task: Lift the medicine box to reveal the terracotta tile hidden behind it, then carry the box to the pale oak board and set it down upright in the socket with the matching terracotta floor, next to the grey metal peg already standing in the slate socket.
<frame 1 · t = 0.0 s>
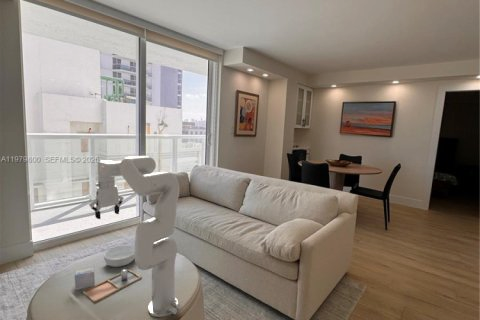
hand: (107, 215, 131), 31 cm above the table, fingers open, 9 cm apart
medicine box: (85, 288, 121), on the table
tile: (87, 279, 128), on the table
peg: (124, 279, 127), point 1 cm above the table, touching board
cereal bowl: (120, 263, 144), on the table
board: (113, 287, 122), on the table
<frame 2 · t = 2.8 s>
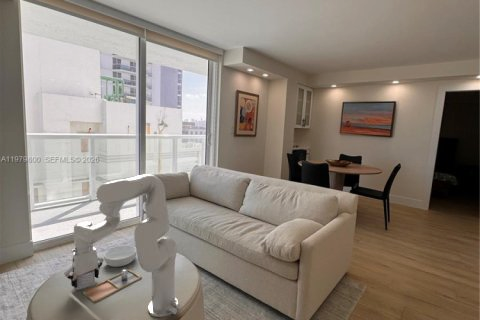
hand: (85, 281, 121), 3 cm above the table, fingers open, 9 cm apart
nothing on the table moved.
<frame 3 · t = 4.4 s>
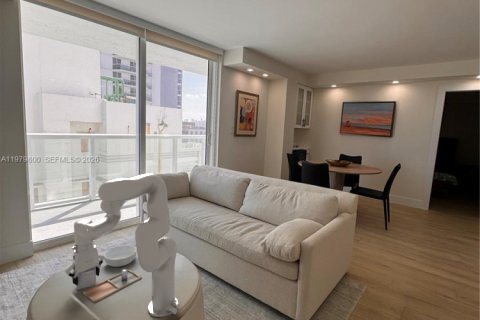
hand: (86, 279, 121), 4 cm above the table, fingers closed on medicine box, 9 cm apart
medicine box: (86, 285, 121), point 1 cm above the table, touching gripper
everything else where it was.
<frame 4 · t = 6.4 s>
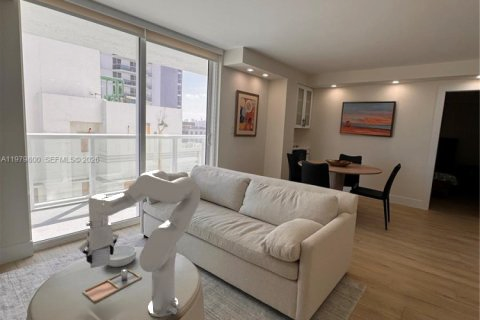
hand: (100, 258, 115), 18 cm above the table, fingers closed on medicine box, 9 cm apart
medicine box: (100, 264, 116), point 14 cm above the table, touching gripper
everything else where it was.
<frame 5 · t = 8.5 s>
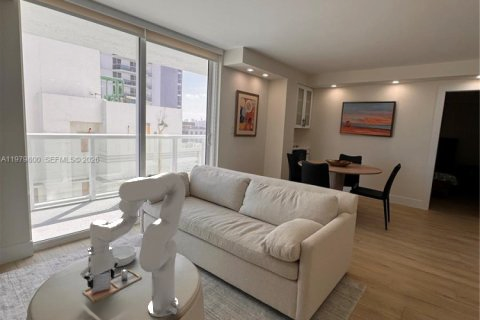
hand: (101, 282, 117), 6 cm above the table, fingers closed on medicine box, 9 cm apart
medicine box: (101, 288, 118), point 2 cm above the table, touching gripper
everything else where it was.
when the fingers open (5 cm above the table, at t = 9.7 s): medicine box stays where it is, resting on board.
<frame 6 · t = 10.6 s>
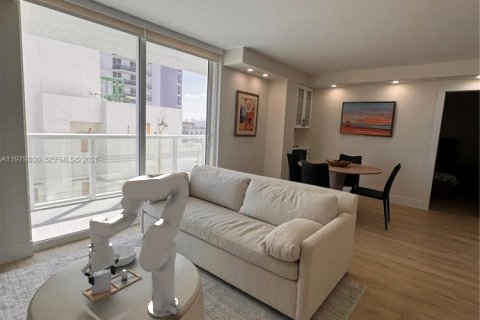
hand: (102, 278, 116), 8 cm above the table, fingers open, 9 cm apart
medicine box: (101, 290, 118), point 1 cm above the table, touching board, gripper
everything else where it was.
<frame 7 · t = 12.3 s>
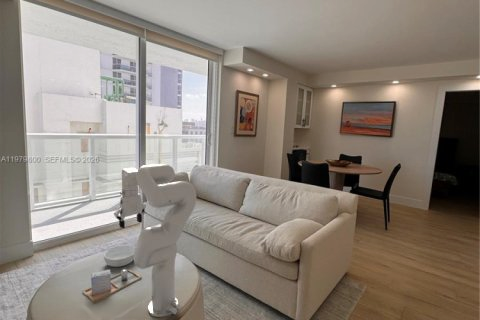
hand: (131, 224, 129), 28 cm above the table, fingers open, 9 cm apart
medicine box: (101, 291, 118), point 1 cm above the table, touching board
everything else where it was.
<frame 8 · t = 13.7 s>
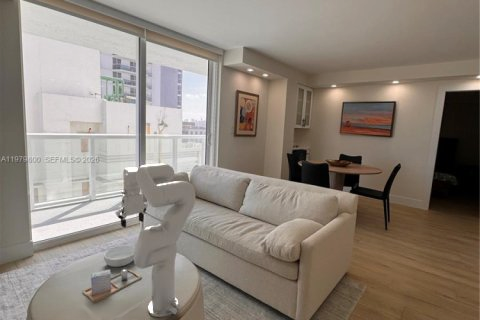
hand: (132, 223, 129), 28 cm above the table, fingers open, 9 cm apart
nothing on the table moved.
at the end: medicine box inside the target area on the board (0.4 cm from its centre), point 1.1 cm above the board's base; medicine box tilted 0°; the gripper is holding nothing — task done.
